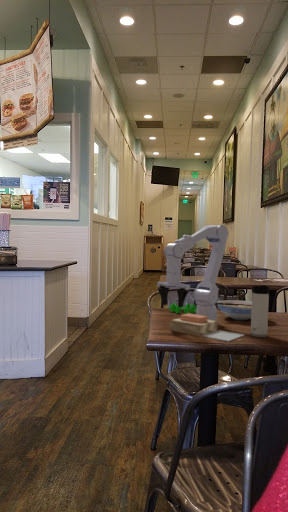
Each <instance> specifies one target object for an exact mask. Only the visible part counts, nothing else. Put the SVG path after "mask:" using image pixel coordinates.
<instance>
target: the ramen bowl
mask: <svg viewBox="0 0 288 512" xmlns="http://www.w3.org/2000/svg"><path fill="white" fill-rule="evenodd" d="M215 305H217V307H218V308H219V310H220V311H221V312H222V314H224V315H225V316H227V317H229V318H231V319H233V320H236V321H248V320H249V319H250V320H251V310H252V301H249V300H238V299H237V300H232V299H230V300H229V299H227V300H217V302H216V303H215ZM270 307H271V305H268V308H270Z"/></svg>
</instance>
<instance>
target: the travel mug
mask: <svg viewBox="0 0 288 512" xmlns="http://www.w3.org/2000/svg"><path fill="white" fill-rule="evenodd" d="M251 291H252V292H251V302H252V310H251V318H250V336H252V337H255V338H266V337H267V336H268V327H269V326H268V323H269V322H268V319H269V307H268V306H269V302H270V301H269V299H270V295H269V294H270V286H269V285H264V284H263V285H252V290H251Z"/></svg>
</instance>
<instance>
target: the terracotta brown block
mask: <svg viewBox="0 0 288 512" xmlns="http://www.w3.org/2000/svg"><path fill="white" fill-rule="evenodd" d="M180 318H181V320H184V321H190V322H195V323H203V322H206V321H207V319H208V316H202V315H197V313H194V314H193V313H190V312H188V313H187V314H185V313H184V314H180Z"/></svg>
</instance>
